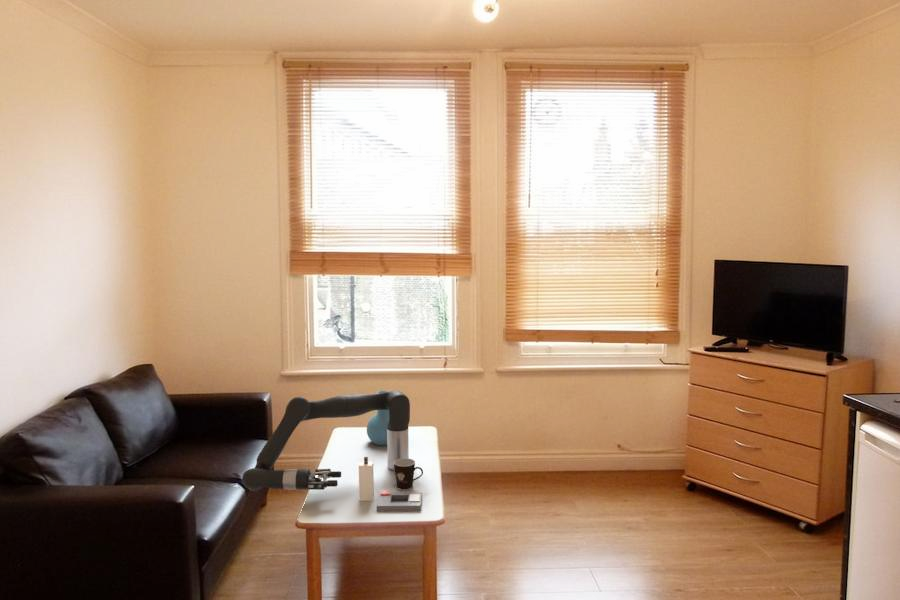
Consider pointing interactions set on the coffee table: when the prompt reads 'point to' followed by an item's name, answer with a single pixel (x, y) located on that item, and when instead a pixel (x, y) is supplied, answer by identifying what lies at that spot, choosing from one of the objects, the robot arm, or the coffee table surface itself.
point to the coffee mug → (405, 473)
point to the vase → (378, 426)
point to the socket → (399, 501)
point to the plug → (366, 480)
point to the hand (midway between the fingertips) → (339, 478)
